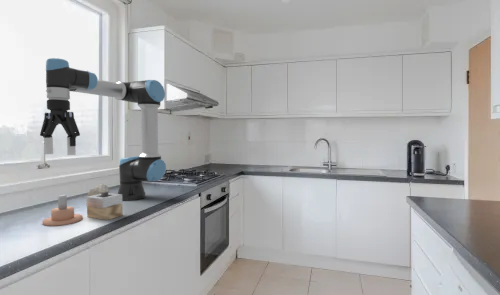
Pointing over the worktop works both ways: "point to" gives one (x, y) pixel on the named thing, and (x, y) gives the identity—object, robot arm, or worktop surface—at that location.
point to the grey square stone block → (104, 200)
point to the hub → (62, 214)
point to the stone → (98, 190)
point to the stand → (105, 210)
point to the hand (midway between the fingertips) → (60, 154)
